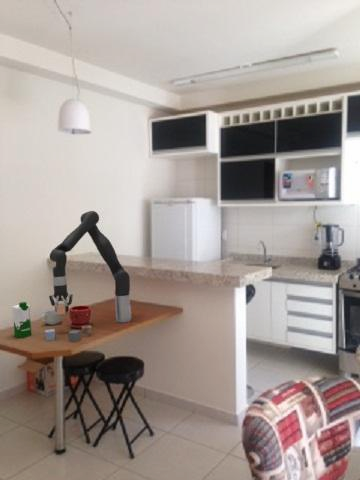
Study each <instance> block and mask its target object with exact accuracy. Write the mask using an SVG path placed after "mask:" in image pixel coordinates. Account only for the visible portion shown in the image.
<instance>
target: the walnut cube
mask: <svg viewBox="0 0 360 480" xmlns="http://www.w3.org/2000/svg"><path fill="white" fill-rule="evenodd" d="M92 330H93V329H92V325H90V324H89V325H88V326H83V327H82V328H81V338H82V337H84V338H85V337H92V335H91V334H93V332H92Z"/></svg>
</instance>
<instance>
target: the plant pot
mask: <svg viewBox="0 0 360 480" xmlns="http://www.w3.org/2000/svg"><path fill="white" fill-rule="evenodd" d="M68 313H69V318H70V321H71V323H70V327H72V328H73V329H82V327H83V326H89V325H90V320H91V316H92V308H91V306H89V305H75V306H70V307H69V311H68Z"/></svg>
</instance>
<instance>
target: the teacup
mask: <svg viewBox="0 0 360 480" xmlns="http://www.w3.org/2000/svg"><path fill="white" fill-rule="evenodd" d="M62 315H63V314H57V312H56V311H55V309H48V310H45V311H44V313H43V314H41V316H40V319H41V321H43V322H45V323H46V324H48V325H50V326H54V325H58V324H60V323H61V321H62Z"/></svg>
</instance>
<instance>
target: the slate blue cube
mask: <svg viewBox="0 0 360 480" xmlns="http://www.w3.org/2000/svg"><path fill="white" fill-rule="evenodd" d="M55 330H56V329H55V328H51V329H50V328H49V329H45V341H46V342H47V341H48V342H49V341H55V340H56V332H55Z"/></svg>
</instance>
